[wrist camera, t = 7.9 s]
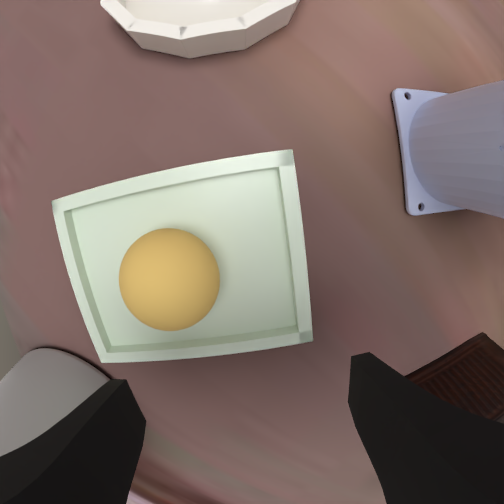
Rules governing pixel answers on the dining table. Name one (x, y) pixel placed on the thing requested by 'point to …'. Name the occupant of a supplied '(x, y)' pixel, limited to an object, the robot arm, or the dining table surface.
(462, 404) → the brown manual coffee grinder
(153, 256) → the ball
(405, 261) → the dining table surface
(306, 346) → the dining table surface
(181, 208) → the tray
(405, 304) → the dining table surface
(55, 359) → the cylinder vase
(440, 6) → the dining table surface
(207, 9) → the bowl
